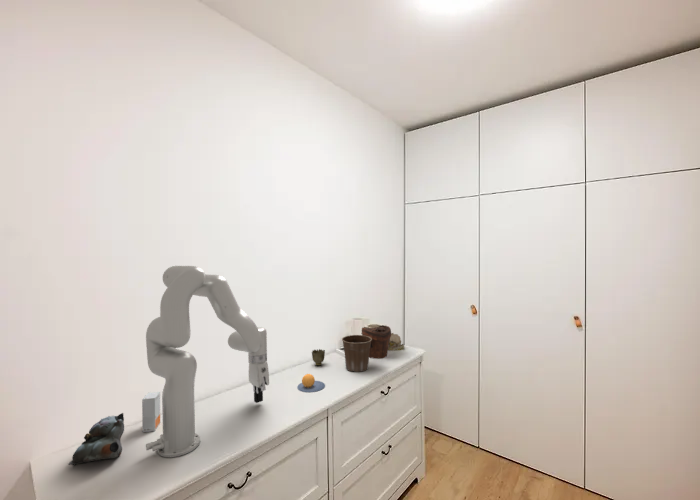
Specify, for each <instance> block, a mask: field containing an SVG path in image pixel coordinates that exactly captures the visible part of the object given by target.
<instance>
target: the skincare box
mask: <svg viewBox="0 0 700 500" xmlns="http://www.w3.org/2000/svg"><path fill="white" fill-rule="evenodd" d="M141 400H142V401H141V402H142V406H141V408H142V413H141V415H142V416H141V418H142V420H141V421H142V424H141V425H142V433H149V432H155V431H156V430H157V429H158V427H159V426H160V424H161V391H153V392H148V393H147V394H146V395H144V397H143V398H142V399H141Z"/></svg>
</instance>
